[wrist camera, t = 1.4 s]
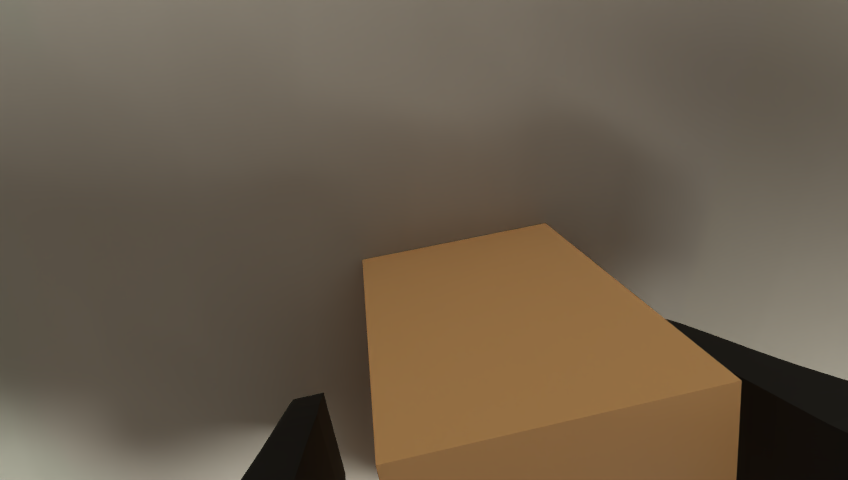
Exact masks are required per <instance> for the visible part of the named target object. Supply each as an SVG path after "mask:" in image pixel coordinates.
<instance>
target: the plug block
mask: <svg viewBox="0 0 848 480" xmlns="http://www.w3.org/2000/svg"><path fill="white" fill-rule="evenodd" d="M362 262H363V277H364V293H365V308H366V323H367V339H368V354H369V369H370V385H371V400H372V415H373V431H374V446H375V461H376V468H377V472H378V476H379V480H736V477H737V459H738V440H739V422H740V404H741V385H742V380H740V379H739V378H738V377H737V376H735V375H734V374H733V373H732V372H730V371H729V370H728V369H727V368H725V367H724V366H723V365H722V364H720V363H719V362H718V361H717V360H715V359H714V358H713V357H712V356H710V355H709V354H708V353H707V352H705V351H704V350H703V349H702V348H701V347H699V346H698V345H697V344H696V343H694V342H693V341H692V340H691V339H689V338H688V337H687V336H686V335H684V334H683V333H682V332H681V331H679V330H678V329H677V328H676V327H674V326H673V325H672V324H671V323H669V322H668V321H667V320H666V319H664V318H663V317H662V316H661V315H659V314H658V313H657V312H656V311H654V310H653V309H652V308H651V307H649V306H648V305H647V304H646V303H644V302H643V301H642V300H641V299H639V298H638V297H637V296H636V295H634V294H633V293H632V292H631V291H629V290H628V289H627V288H626V287H624V286H623V285H622V284H621V283H619V282H618V281H617V280H616V279H614V278H613V277H612V276H611V275H609V274H608V273H607V272H606V271H604V270H603V269H602V268H601V267H599V266H598V265H597V264H596V263H594V262H593V261H592V260H591V259H589V258H588V257H587V256H586V255H584V254H583V253H582V252H581V251H579V250H578V249H577V248H576V247H574V246H573V245H572V244H571V243H569V242H568V241H567V240H566V239H564V238H563V237H562V236H561V235H560V234H558V233H557V232H556V231H555V230H553V229H552V228H551V227H550V226H548V225H547V224H546V223H543V224H538V225H533V226H528V227H523V228H518V229H513V230H508V231H503V232H498V233H494V234H489V235H484V236H479V237H474V238H469V239H464V240H459V241H454V242H449V243H444V244H439V245H434V246H429V247H424V248H419V249H414V250H409V251H404V252H399V253H394V254H389V255H384V256H379V257H374V258H369V259H364V260H362Z"/></svg>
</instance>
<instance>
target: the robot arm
mask: <svg viewBox="0 0 848 480" xmlns="http://www.w3.org/2000/svg"><path fill="white" fill-rule="evenodd" d="M666 320H667V319H666ZM667 321H668V322H669V323H671V324H672V325H673V326H674V327H676V328H677V329H678V330H679V331H681V332H682V333H683V334H684V335H686V336H687V337H688V338H689V339H691V340H692V341H693V342H694V343H696V344H697V345H698V346H699V347H701V348H702V349H703V350H704V351H705V352H707V353H708V354H709V355H710V356H712V357H713V358H714V359H715V360H717V361H718V362H719V363H720V364H722V365H723V366H724V367H725V368H727V369H728V370H729V371H730V372H732V373H733V374H734V375H735V376H737V377H738V378H739V379H740V380H742V385H741V404H740V422H739V440H738V459H737V477H736V480H848V381H847V380H844V379H840V378H837V377H834V376H831V375H828V374H824V373H821V372H818V371H815V370H812V369H808V368H805V367H802V366H799V365H796V364H793V363H790V362H787V361H784V360H781V359H778V358H775V357H772V356H770V355H767V354H764V353H761V352H758V351H756V350H753V349H750V348H747V347H744V346H742V345H739V344H736V343H733V342H731V341H728V340H725V339H723V338H720V337H717V336H714V335H712V334H709V333H706V332H704V331H701V330H698V329H695V328H692V327H689V326H687V325H684V324H681V323H677V322H674V321H671V320H667ZM241 480H346V479H345V471H344V467H343V463H342V460H341V456H340V452H339V449H338V445H337V441H336V438H335V434H334V430H333V426H332V423H331V419H330V415H329V412H328V408H327V404H326V401H325V397H324V393H321V394H316V395H312V396H307V397H303V398H298V399H294V400H293V401H292V402H291V403H290V405H289V406H288V408H287V409H286V411H285V412H284V414H283V416H282V417H281V419H280V421H279V422H278V424H277V425H276V427H275V429H274V430H273V432H272V433H271V435H270V437H269V438H268V440H267V441H266V443H265V444H264V446H263V448H262V449H261V451H260V452H259V454H258V455H257V457H256V458H255V460H254V461H253V463H252V464H251V466H250V467H249V469H248V470H247V472H246V473H245V474H244V476H243V477H242V479H241Z"/></svg>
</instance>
